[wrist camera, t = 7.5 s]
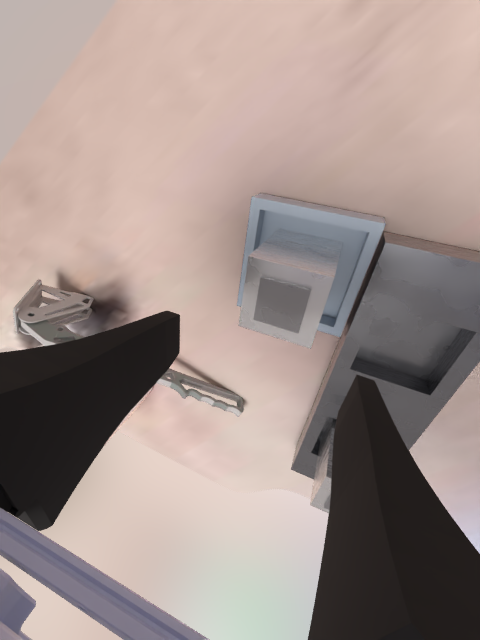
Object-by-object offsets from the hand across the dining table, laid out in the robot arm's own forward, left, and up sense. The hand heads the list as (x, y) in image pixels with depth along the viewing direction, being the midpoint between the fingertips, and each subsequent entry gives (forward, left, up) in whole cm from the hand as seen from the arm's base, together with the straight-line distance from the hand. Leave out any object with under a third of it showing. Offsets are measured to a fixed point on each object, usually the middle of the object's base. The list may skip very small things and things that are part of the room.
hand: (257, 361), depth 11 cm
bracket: (+13, +11, -11) cm, 21 cm away
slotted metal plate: (-7, +7, -10) cm, 15 cm away
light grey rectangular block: (0, -1, -10) cm, 10 cm away
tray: (0, -1, -10) cm, 10 cm away
